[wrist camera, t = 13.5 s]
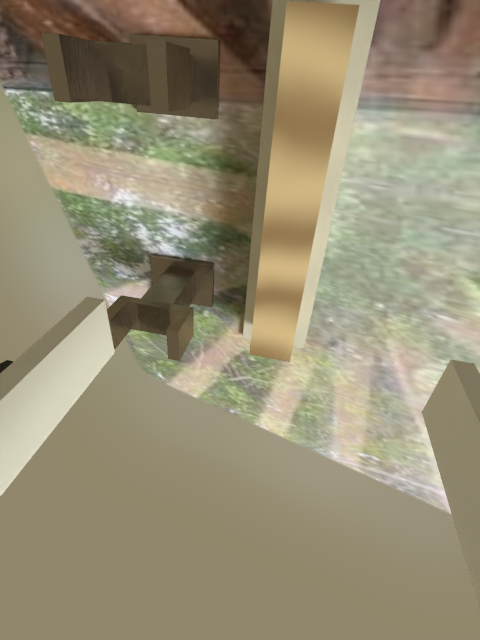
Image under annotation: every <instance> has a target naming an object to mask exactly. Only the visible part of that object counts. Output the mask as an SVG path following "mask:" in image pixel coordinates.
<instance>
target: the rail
mask: <svg viewBox="0 0 480 640" xmlns="http://www.w3.org/2000/svg"><path fill="white" fill-rule="evenodd" d="M358 10H359V5H353V4H333V3H312V2H292V1H287V6H286V15H285V25H284V34H283V43H282V53H281V62H280V72H279V81H278V90H277V100H276V109H275V119H274V128H273V138H272V147H271V156H270V166H269V175H268V185H267V194H266V203H265V213H264V222H263V232H262V241H261V251H260V260H259V269H258V279H257V288H256V298H255V307H254V317H253V326H252V335H251V345H250V355H255V356H261V357H266V358H272V359H277V360H283V361H288V362H290V358H291V352H292V347H293V342H294V337H295V332H296V327H297V322H298V317H299V312H300V307H301V301H302V296H303V291H304V286H305V281H306V276H307V271H308V266H309V261H310V255H311V250H312V245H313V240H314V235H315V230H316V225H317V220H318V215H319V210H320V204H321V199H322V194H323V189H324V184H325V179H326V174H327V169H328V164H329V159H330V153H331V148H332V143H333V138H334V133H335V128H336V123H337V118H338V113H339V107H340V102H341V97H342V92H343V87H344V82H345V77H346V72H347V67H348V62H349V56H350V51H351V46H352V41H353V36H354V31H355V26H356V21H357V16H358Z"/></svg>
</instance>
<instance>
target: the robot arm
mask: <svg viewBox="0 0 480 640" xmlns="http://www.w3.org/2000/svg"><path fill="white" fill-rule="evenodd" d="M113 354H114V346H113V341H112V336H111V330H110V325H109V320H108V315H107V309H106V304H105V300H103V299H97V298H91V297H86V298H85V299H84V300H83V301H82V302H81V303H80V304H78V305H77V306H76V307H75V308H74V309H73V310H72V311H70V312H69V313H68V314H67V315H66V316H65V317H64V318H63V319H62V320H60V321H59V322H58V323H57V324H56V325H55V326H53V327H52V328H51V329H50V330H49V331H48V332H47V333H46V334H44V335H43V336H42V337H41V338H40V339H39V340H38V341H37V342H35V343H34V344H33V345H32V346H31V347H30V348H29V349H27V350H26V351H25V352H24V353H23V354H22V355H21V356H20V357H18V358H17V359H16V360H15V361H14V362H13V361H8V360H7V361H5V362H3V363H1V364H0V495H2V494H3V492H4V491H5V490H6V489H7V487H8V486H9V485H10V484H11V482H12V481H13V480H14V479H15V477H16V476H17V475H18V473H19V472H20V471H21V470H22V468H23V467H24V466H25V464H26V463H27V462H28V461H29V460H30V458H31V457H32V456H33V455H34V453H35V452H36V451H37V450H38V448H39V447H40V446H41V445H42V443H43V442H44V441H45V439H46V438H47V437H48V436H49V434H50V433H51V432H52V431H53V429H54V428H55V427H56V426H57V424H58V423H59V422H60V421H61V419H62V418H63V417H64V416H65V414H66V413H67V412H68V410H69V409H70V407H72V405H73V404H74V403H75V402H76V400H77V399H78V398H79V396H80V395H81V394H82V393H83V392H84V390H85V389H86V388H87V387H88V385H89V384H90V383H91V382H92V380H93V379H94V378H95V376H96V375H97V374H98V373H99V371H100V370H101V369H102V367H103V366H104V365H105V364H106V363H107V361H108V360H109V359H110V358H111V356H112V355H113ZM422 414H423V417H424V420H425V424H426V427H427V431H428V434H429V438H430V441H431V444H432V448H433V451H434V455H435V458H436V461H437V465H438V468H439V472H440V475H441V479H442V482H443V485H444V489H445V492H446V496H447V499H448V502H449V506H450V509H451V513H452V516H453V519H454V523H455V526H456V530H457V533H458V537H459V540H460V543H461V547H462V550H463V554H464V557H465V561H466V564H467V567H468V570H469V574H470V577H471V581H472V584H473V588H474V591H475V595H476V598H477V601H478V605H479V608H480V374H479V372H478V370H477V368H476V366H475V365H474V364H473V363H467V362H461V361H455V360H450V362H449V364H448V366H447V368H446V369H445V371H444V373H443V375H442V377H441V378H440V380H439V382H438V384H437V386H436V387H435V389H434V391H433V393H432V395H431V397H430V398H429V400H428V402H427V404H426V406H425V407H424V409H423V411H422Z"/></svg>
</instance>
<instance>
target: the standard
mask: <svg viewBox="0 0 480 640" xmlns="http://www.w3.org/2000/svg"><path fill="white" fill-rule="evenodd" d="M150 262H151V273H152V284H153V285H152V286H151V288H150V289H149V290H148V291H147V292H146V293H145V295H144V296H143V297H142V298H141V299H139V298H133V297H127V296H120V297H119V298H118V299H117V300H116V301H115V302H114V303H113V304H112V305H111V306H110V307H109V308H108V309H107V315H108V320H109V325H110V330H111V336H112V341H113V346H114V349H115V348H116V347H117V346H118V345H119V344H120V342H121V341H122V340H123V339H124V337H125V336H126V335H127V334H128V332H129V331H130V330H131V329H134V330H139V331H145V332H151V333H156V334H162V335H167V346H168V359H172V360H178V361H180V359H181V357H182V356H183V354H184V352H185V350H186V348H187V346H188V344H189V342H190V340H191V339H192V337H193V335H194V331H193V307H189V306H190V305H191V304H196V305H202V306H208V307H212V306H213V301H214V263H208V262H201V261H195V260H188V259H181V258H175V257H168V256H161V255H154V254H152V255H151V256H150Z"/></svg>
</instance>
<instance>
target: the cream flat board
mask: <svg viewBox="0 0 480 640" xmlns="http://www.w3.org/2000/svg"><path fill="white" fill-rule="evenodd" d="M287 1H292V2H312V3H333V4H353V5H359V10H358V16H357V21H356V26H355V31H354V36H353V41H352V46H351V51H350V56H349V62H348V67H347V72H346V77H345V82H344V87H343V92H342V97H341V102H340V107H339V113H338V118H337V123H336V128H335V133H334V138H333V143H332V148H331V153H330V159H329V164H328V169H327V174H326V179H325V184H324V189H323V194H322V199H321V204H320V210H319V215H318V220H317V225H316V230H315V235H314V240H313V245H312V250H311V255H310V261H309V266H308V271H307V276H306V281H305V286H304V291H303V296H302V301H301V307H300V312H299V317H298V322H297V327H296V332H295V337H294V342H293V347H297V348H303V349H304V345H305V341H306V336H307V331H308V327H309V322H310V318H311V313H312V309H313V304H314V300H315V295H316V291H317V286H318V282H319V277H320V272H321V268H322V263H323V259H324V254H325V250H326V245H327V241H328V236H329V232H330V227H331V223H332V218H333V213H334V209H335V204H336V200H337V195H338V191H339V186H340V182H341V177H342V173H343V168H344V164H345V159H346V155H347V150H348V145H349V141H350V136H351V132H352V127H353V123H354V118H355V114H356V109H357V105H358V100H359V96H360V91H361V86H362V82H363V77H364V73H365V68H366V64H367V59H368V55H369V50H370V46H371V41H372V37H373V32H374V27H375V23H376V18H377V14H378V9H379V5H380V0H272V11H271V23H270V34H269V45H268V56H267V68H266V79H265V90H264V102H263V113H262V124H261V136H260V147H259V158H258V170H257V181H256V192H255V203H254V215H253V226H252V237H251V249H250V260H249V271H248V283H247V294H246V305H245V317H244V328H243V338H245V339H251V335H252V326H253V317H254V307H255V298H256V288H257V279H258V269H259V260H260V251H261V241H262V232H263V222H264V213H265V203H266V194H267V185H268V175H269V166H270V156H271V147H272V138H273V128H274V119H275V109H276V100H277V90H278V81H279V72H280V62H281V53H282V43H283V34H284V25H285V15H286V6H287Z"/></svg>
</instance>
